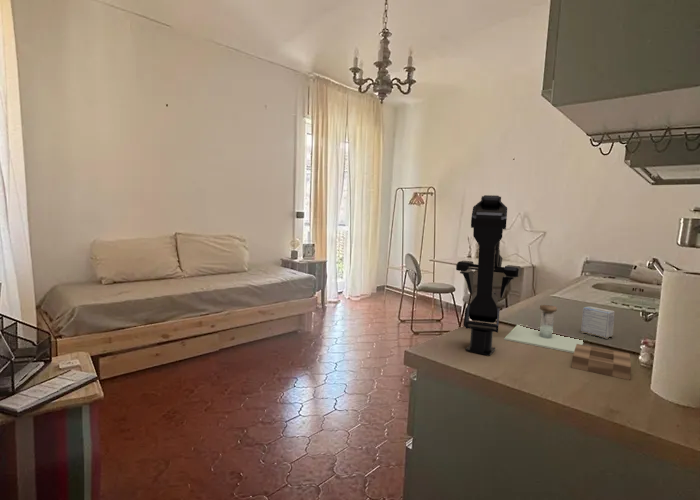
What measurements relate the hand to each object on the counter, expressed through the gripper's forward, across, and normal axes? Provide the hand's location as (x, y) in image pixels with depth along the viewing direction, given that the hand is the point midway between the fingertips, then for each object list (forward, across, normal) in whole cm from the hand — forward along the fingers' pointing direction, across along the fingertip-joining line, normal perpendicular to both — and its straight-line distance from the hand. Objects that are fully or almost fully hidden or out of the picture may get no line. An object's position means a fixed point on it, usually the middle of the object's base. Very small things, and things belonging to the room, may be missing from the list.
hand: (486, 295), depth 128 cm
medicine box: (+12, -30, -22) cm, 39 cm away
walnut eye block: (+12, -32, +10) cm, 36 cm away
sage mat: (+12, -17, -7) cm, 22 cm away
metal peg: (+12, -17, -7) cm, 22 cm away
